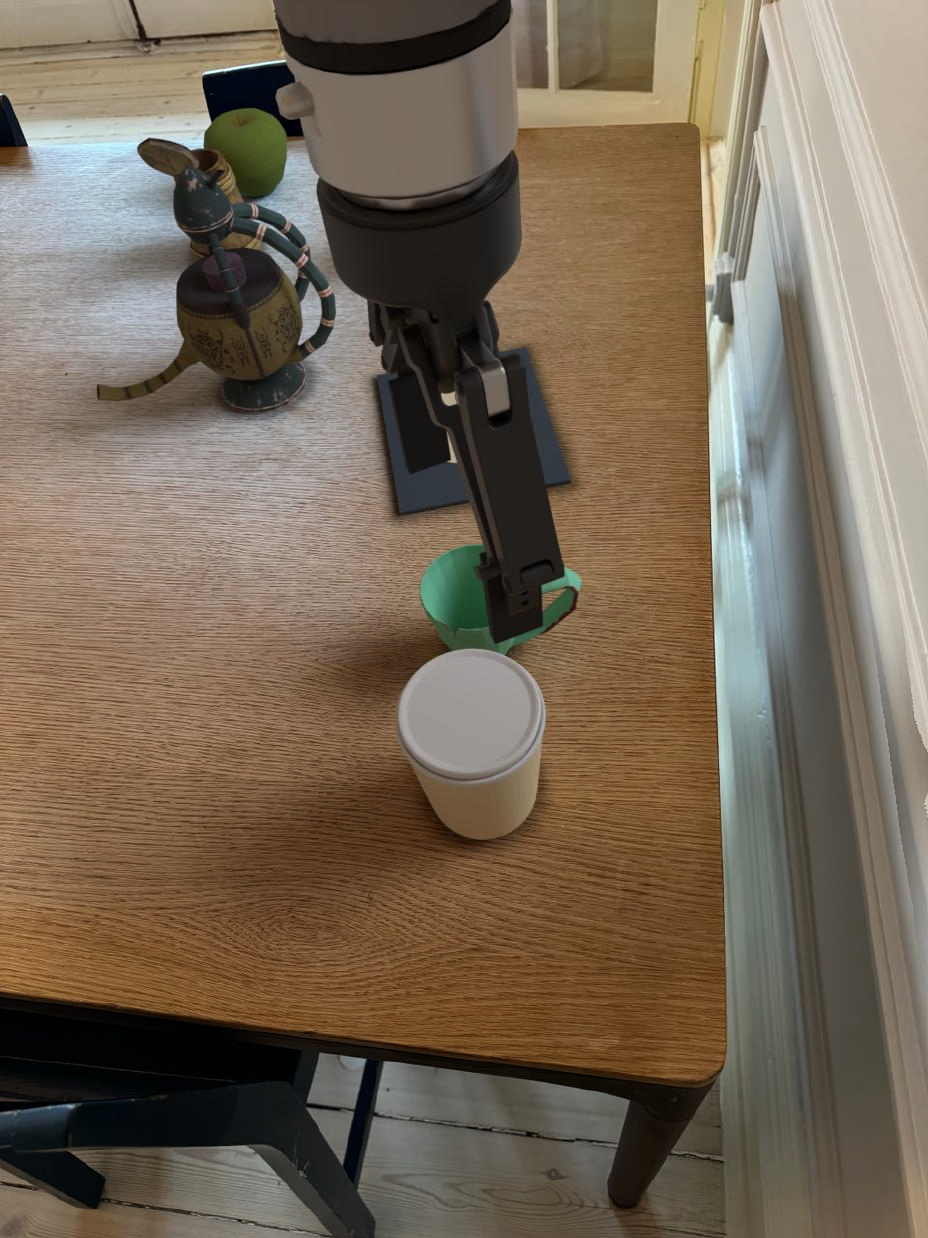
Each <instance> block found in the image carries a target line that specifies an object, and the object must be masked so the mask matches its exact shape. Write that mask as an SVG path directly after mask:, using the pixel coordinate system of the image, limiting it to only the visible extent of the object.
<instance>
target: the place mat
mask: <svg viewBox="0 0 928 1238" xmlns="http://www.w3.org/2000/svg"><path fill="white" fill-rule="evenodd" d="M499 352H500V356H501V357H502V356H505V355H508V354H511V353H514V352H517V353H518V354H519V355H520V357H521V359H522V360H523V361H524V363H525V366H526V378H527V389H528V399H529V410H530V416H531V421H532V425H533V430H534V434H535V439H536V443H537V448H538V453H539V457H540V462H541V466H542V471H543V475H544V480H545V484H546V488H549V487H550V488H551V487H554V486H555V487H556V486H560V485H565V484H571V483H572V478H571V476H570V473H569V469H568V467H567V464H566V461H565V458H564V454H563V452H562V449H561V445H560V443H559V440H558V437H557V435H556V431H555V429H554V426H553V422H552V420H551V417H550V413H549V411H548V407H547V405H546V402H545V399H544V396H543V393H542V391H541V387H540V384H539V382H538V378H537V375H536V373H535V370H534V366H533V363H532V362H531V358H530V355H529V352H528V349H527V347H526V346H525V347H519V348H513V349H509V350H508V349H507V350H504V351H499ZM393 379H395V378H394V374H391V375H388V374H387V373H381V374H377V375H376V380H377V385H378V392H379V398H380V404H381V409H382V416H383V422H384V427H385V434H386V440H387V446H388V453H389V458H390V459H389V460H390V463H391V470H392V477H393V483H394V488H395V489H394V490H395V494H396V499H397V500H396V501H397V506H398V512H399V516H404V515H409V514H414V513H421V512H425V511H430V510H435V509H440V508H441V509H442V508H445V507H452V506H456V505H461V504H467V503H470V501H469V498H468V495H467V492H466V489H465V486H464V482H463V479H462V476H461V473H460V470H459V467H458V464H457V461H456V457H455V454H454V451H453V448H452V445H451V442H450V439H449V436H448V441H449V448H450V455H451V460H450V461H447V462H445V463H442V464H439V465H436V466H433V467H430V468H427V469H424V470H421V471H419V472H416V473H413V474H409V472H408V470H407V468H406V465H405V460H404V455H403V451H402V446H401V441H400V436H399V432H398V427H397V422H396V418H395V413H394V408H393V404H392V399H391V394H390V389H389V385H388V381H390V380H393ZM441 395H442V399H443V401H444V403H445V404H446V405H448V406H451V405H454V404H457V402H456V400H455V392H453V393H449V394H443V393H441ZM447 435H448V432H447Z"/></svg>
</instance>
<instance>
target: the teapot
mask: <svg viewBox="0 0 928 1238" xmlns="http://www.w3.org/2000/svg"><path fill="white" fill-rule="evenodd" d="M223 173H225V170H222V169H221V170H216V171H215V172H214V173H213V175H212V176H211V177H209V176H208V175H206V174H205V173H204V172H202V171H201V170H199V169H196V168H193V167H190V166H187V165H186V167H185V168H184V169H183V171H182V172H181V173H180V175H179V177H178V180H177V183H176V186H175V185H174V186H175V187H174V190H173V194H172V196H173V199H172V206H173V207H172V209H173V215H174V216H173V217H174V220H175V222H176V226H177V228H178V229H180V230H181V231H182V232H183V233H184V234H185V235H186V236H187V237H188V238H189V239H190V238H191V239H192V240H193V241H194V242H195V243H197V244H199V245H208V246H209V247H208V248H209V251H210V255H207V256H204V257H202V258H200V259H198V260H197V261H195V262H194V261H193V262H192V263H190V264H189V265H188V266H187V267H186V268H185V269H184V270H183V271H182V272H181V273H180V276H179V277H178V279H177V281H176V287H175V288H176V290H175V293H176V294H175V298H176V299H175V302H176V303H175V308H176V310H175V311H176V313H175V314H176V323H177V327H178V329H179V332H180V335H181V337H182V338H183V341H182V343H181V346H180V349H179V351H178V354H177V356H176V357H175V358H174V359H173V361H172V362H171V363H170V364H169V365H168V366H167V367H165V369H164V370H162V371H161V372H159V373H158V374H156V375H154V376H152V377H149V378H148V379H144V380H143V381H140V382H138V383H134V384H131V385H130V384H129V385H127V386H117V387H115V386H110V385H106V384H102V383H97V384H96V399H97V400H98V401H101V402H104V401H105V402H123V401H124V402H125V401H131V400H135V399H139V398H142V397H145V396H148V395H151V394H153V393H155V392H157V391H158V390H159V389H161V388H163V387H165V386H166V385H168V384H169V383H170V382H172V381H173V380H175V378H177V377H178V376H179V375H181V373H183V372H184V371H186V370H187V369H188V368H191V367H192V366H194V365H196V364H198V363H201V364H202V365H204V366H205V367H206V368H208V369H209V370H211V371H212V372H214V373H216V374H217V375H219V376H222V377H225V378H224V380H223V382H222V385H221V389H222V390H221V391H222V397H223V399H224V400H225V401H226V403H227V405H228V406H229V407H231V408H232V409H234V410H236V411H238V412H241V413H246V414H265V413H269V412H273V411H274V412H275V411H277V410H279V409H281V408H283V407H286V406H288V405H289V404H291V403H292V402H294V401H295V400H296V399H297V398H299V397H300V396H301V393H303V391H304V390H305V388H306V385H307V382H308V376H307V371H306V367H304V365H303V364H302V362H303V361H305V359H306V358H308V357H309V356H310V355H312V354H313V353H315V352H316V351H317V350H319V349H320V348H321V347H323V346H324V345H325V344H326V343H327V341H328V339H329V337H330V335H331V334H332V332H333V330H334V327H335V322H336V315H337V307H336V295H335V294H334V292H333V289H332V287H331V286H330V284H329V281H328V280H327V278H326V277H325V275H323V273H322V271H321V270H320V269H319V268H318V267H317V266H316V264H315V263H314V262H313V261H312V257H311V256H312V255H311V248H310V246H309V244H308V242H307V239H306V236H305V235H304V234H303V233H302V232H301V231H300V230H299V228H298V227H296V225H295V224H293V223H292V221H290V220H289V219H288V218H286V217H285V216H284V215H283V214H281V213H280V212H277V211H274V210H272V209H270V208H267V207H265V206H263V205H259V204H256V203H249V202H244V203H235V204H231V203H230V201H229V199H228V198H227V196H226V194H225V193H224V191H223V190H222V189H221V188H220V186H219V185H218V184H217V180H218V178H219V177H220V176H221V175H222V174H223ZM248 219H251V220H248ZM257 221H259V222H262V223H265V224H267V225H268V226H269V225H270V226H272V227H273V228H275V229H276V230H277V231H278V232H277V231H276V230H274V229H273V228H270V227H268V226H266V225H264V224H262V223H259V222H257ZM233 232H234V233H239V234H243V235H247V236H251V237H253V238H255V239H258V240H260V241H262V243H264V244H267V245H268V246H269V247H271V248H272V249H274V250H276V251H277V252H278V253H280V254H281V255H283V256H285V257H286V258H287V259H288V260H289V261H290V262H292V264H293V265H294V266H295V267H296V268H297V277H296V280H295V283H293V282H292V280H291V279H290V277H288V275H287V274H286V272H285V271H284V270H283V269H282V267H280V265H279V264H278V262H276V261H275V259H274V258H273V257H272V256H271V255H270V254H269V253H267V252H265V251H262V250H261V251H260V250H256V249H251V248H231V249H227V250H224V249H223V248H222V246H221V244H220V242H221V241H223V240H224V239H226V238H227V237H228V235H229V234H231V233H233ZM280 233H281V234H282V235H281V234H280ZM191 239H190V240H191ZM310 284H311V285H312V286H313V287H314V289H315V291H316V294H317V295H318V297H319V299H320V307H321V315H320V320H319V326H318V327H317V329H316V331H315V333H314V334H313V335H311V336H310V337H309V338H308V339H306V340H305V341H304V342H302V343H301V344H300V345H299V342H300V339H301V335H302V331H303V328H304V323H303V313H302V308H301V307H302V306H301V303H302V301H304V299H305V297H306V294H307V291H308V289H309V285H310Z"/></svg>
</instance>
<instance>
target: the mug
mask: <svg viewBox="0 0 928 1238" xmlns="http://www.w3.org/2000/svg"><path fill="white" fill-rule="evenodd" d="M483 552H485V548H484V545H483V543H476V544H475V543H473V544H472V543H471V544H464V545H461V546H457V547H453V548H450V549H448V550H446V551H445V552H444V553H442V554H440V555H439V556H437V557H435V559H434V560H433V561H432V562H431V563H429V565H428V566H427V567H426V569H425V570H424V572H423V575H422V577H421V579H420V582H419V599H420V602H421V604H422V605H421V606H422V608H423V610H424V613H425V615H426V617H427V619H428V620H429V622H430V623H431V624H432V625H433V627H434V628H435V630H436V632H437V634H438V636H439V637H440V639H441V640H442V642H443V643H444V644H445V645H447V646H448V648H449V649H450V650H451V651H456V650H461V649H483V650H489V651H493V652H497V653H499V654H502V655H504V656H506V654H507V653H508V652H509V650H510V649H511V648H514V647H516V646H518V645H521V644H523V643H525V642H527V641H530V640H533V639H535V638H537V637H540V636H542V635H544V634H546V633H548V632H549V631H551V630H552V629H553V628H555V627H556V626H557V625H558V624H560V623H561V622H562V621H563V620H564V619H566V618H567V617H568V616H569V615H571V614H572V613H573V612H574V611H576V610H577V606H578V600H579V596H580V591H581V587H582V578H581V577H580V575H579V574H578V573H577V572H575V571H573V570H572V569H569V568H568V567H566V566H564V571H565V576H564V577H563V578H560V579H558V580H555V581H552V582H550V583H547V584H544V585H542V595H545V594H547V593H551V592H555V591H560V590H564V591H563V592H562V593H561V594H560V595H559V596H557V598H555V599H554V600H553V601H552V602H551V603H550V604H549V605H548V606H546V607H545V608H544V609H543V627H540V628H537V629H535V630H532V631H529V632H527V633H524V634H522V635H519V636H516V637H514V638H511V639H508V640H506V641H503V642H500V643H498V644H495V643H494V641H493V639H492V637H491V635H490V632H489V625H488V617H487V609H486V602H485V594H484V586H483V581H482V582H480V581H479V579H478V577H477V575H476V573H475V570H474V568H473V567H476V566H478V565H481V563H480V556H479V554H480V553H483Z"/></svg>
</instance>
